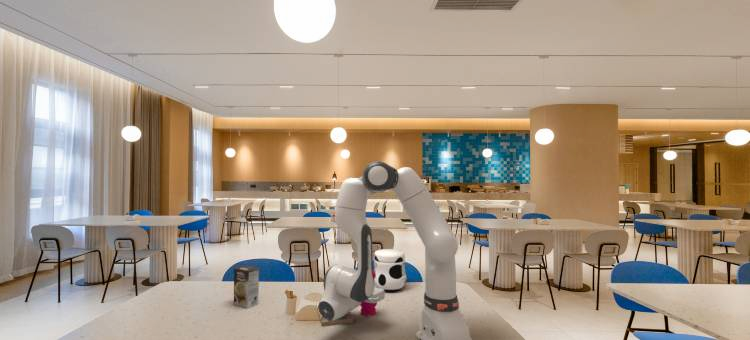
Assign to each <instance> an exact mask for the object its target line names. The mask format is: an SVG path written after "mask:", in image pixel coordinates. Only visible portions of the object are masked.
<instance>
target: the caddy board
mask: <svg viewBox="0 0 750 340" xmlns="http://www.w3.org/2000/svg"><path fill="white" fill-rule="evenodd" d="M321 299H322V297H321V298H320V299H319V300H321ZM319 321H320V324H321V327H325V326H326V327H327V326H328V327H329V326H336V325H344V324H345V325H346V324H352V323H354V318H353V316H352V314H351V311H349V312H348V313H347V314H345V315H344V316H342V317H341V318H339V319H336V320H332V321H330V320H327V319H325V318H323V317H321V319H320V318H319Z"/></svg>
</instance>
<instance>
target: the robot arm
mask: <svg viewBox="0 0 750 340" xmlns="http://www.w3.org/2000/svg"><path fill="white" fill-rule="evenodd" d="M387 190H390V191H392V192H393V193H394V195H396V197H397V199H398V200H399V202H400V203H401V205H402V207H403V209H404V210H405V212H406V214H407V216H408V217H409V219H410V221H411V223H412V225H413V227H414V229H415V231H416V232H417V235H418V236H419V238H420V240H421V242H422V244H423V246H424V261H425V263H424V266H425V269H424V274H425V275H424V276H425V284H424V293H423V303H424V305H423V306H424V307H423V308H422V310H421V311H420V318H419V319H420V320H419V329H418V331H416V332H415V333H416V334H415V337H416V338H418V340H420V339H421V340H473V339H472V337H471V334H470V332H471V331H470V328H471V325H470V322H469V321H466V320H465V318H464V314H463V313H462V312H461V311H460V302H459V299H458V295H457V270H456V269H457V268H456V254H457V253H458V249H459V243H458V242H459V241H458V239H457V237H456V235H455V233H454V230H452V228H451V226H450V224H449V223H448V222H447V219H446V218H445V217H444V215H443V213H442V211H441V210H440V208H439V206H438V204H437V203H436V201H435V199H434V198H433V196H432V194H431V192H430V191H429V189H428V188H427V186H426V184H425V183H424V181H423V180H422V178H421V177H420V176H419V175H418V173H417V172H416V171H415V170H414V169H413V168H411V167H410V166H409V167H408V166H404V167H403V166H402V167H400V168H399V169H397V168H395V167H393V166H391V165H390V164H387V162H384V161H381V160H380V161H379V160H378V161H377V160H376V161H372V162H369V163H368V164H367V165H366V166H365V168H364V169H363V172H362V176H360V177H351V178H346V179H344V180H343V181H342V183H341V185H340V188H339V192H338V194H337V200H336V205H335V211H334V221H335V223H336V225H337V227H338V228H339V229H340V231H341V232H343V233H344V234H345V235H347V236H348V237H350V238H351V239H352V240H353V241H354V243H355V245H356V248H357V269H355V268H351V267H348V266H344V265H340V264H334V265H332V266H331V267H329V268H328V270H327V271H326V272H325V274H324V277H323V290H324V292H323V296H321V298H322V299H321V298H320V299H321V300H320V299H319V300H320V302H319V301H318V302H319V305H318V309H319V312H320V314H321V315H322V317H323V318H325V319H327V320H330V321H332V320H336V319H339V318H341V317H342V316H344V315H345V314H347V313H348V312H351V311H353V310H355V309H356V308H358V307H359V306H360V304H361V303H362V302H363V301H364V302H369V303H377V304H378V303H379V302H381V301H383V300H384V299H385V296H386V295H385V292H386V291H385V290H384V289H380V288H377V286H376V285H374V277H373V270H374V269H373V264H374V263H373V260H374V259H373V234H372V229H371V227H370V226H369V225H368V222H367V218H366V214H367V213H366V212H367V205H368V204H367V203H368V199H369V197H370V196H371V195H372V194H380V193H383V192H385V191H387ZM318 309H317V310H318Z"/></svg>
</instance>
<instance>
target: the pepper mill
mask: <svg viewBox="0 0 750 340" xmlns="http://www.w3.org/2000/svg"><path fill="white" fill-rule="evenodd" d="M373 277H374V279H375V277H376V273H375V271H374V269H373ZM374 282H375V281H374ZM374 284H375V283H374ZM377 305H378V302H377V303H369V302H364V301H363V302H362V303H361V304H360V305H359V306H360V307H361V308H360V315H362V316H365V317H372V316H375V315H376V313H377V309H376V306H377Z"/></svg>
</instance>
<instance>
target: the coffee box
mask: <svg viewBox="0 0 750 340" xmlns="http://www.w3.org/2000/svg"><path fill="white" fill-rule="evenodd" d="M259 276H260V268H259V267H257V266H256V267H255V266H252V265H251V266H249V265H241V266H238V267H234V268H233V305H234V306H237V307H241V308H243V309H244V308H246V309H251V308H252V307H254V306H255V307H256V305H259V290H260V289H259V288H260V287H259V286H260V285H259V284H260V283H259V282H260V277H259Z"/></svg>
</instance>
